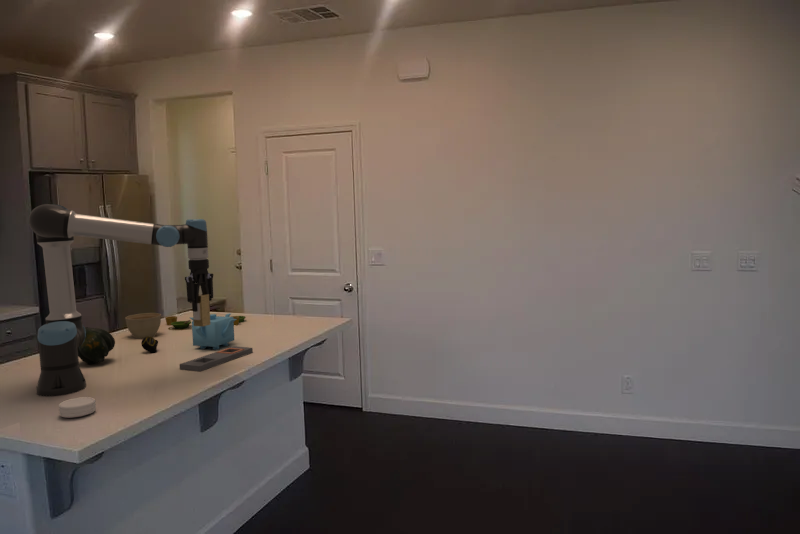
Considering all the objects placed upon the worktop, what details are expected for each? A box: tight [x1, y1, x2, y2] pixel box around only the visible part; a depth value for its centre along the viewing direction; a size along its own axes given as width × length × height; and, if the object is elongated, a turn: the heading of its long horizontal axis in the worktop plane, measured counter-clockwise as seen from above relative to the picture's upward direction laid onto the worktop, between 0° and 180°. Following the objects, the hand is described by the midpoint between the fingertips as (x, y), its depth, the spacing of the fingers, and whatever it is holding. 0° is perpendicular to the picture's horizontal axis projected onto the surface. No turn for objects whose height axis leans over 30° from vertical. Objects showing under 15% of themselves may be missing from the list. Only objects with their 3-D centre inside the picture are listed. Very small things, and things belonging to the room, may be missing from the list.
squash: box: [78, 326, 116, 365], centre depth 246 cm, size 14×15×15 cm
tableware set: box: [164, 315, 247, 331], centre depth 324 cm, size 41×28×6 cm
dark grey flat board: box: [179, 345, 254, 372], centre depth 246 cm, size 32×10×2 cm, turn 156°
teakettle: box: [189, 312, 237, 351], centre depth 272 cm, size 19×19×15 cm
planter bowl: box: [124, 312, 162, 340], centre depth 296 cm, size 16×16×11 cm
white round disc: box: [58, 396, 97, 419], centre depth 185 cm, size 10×10×4 cm
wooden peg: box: [192, 293, 211, 327], centre depth 237 cm, size 4×4×12 cm
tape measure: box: [140, 336, 159, 354], centre depth 264 cm, size 7×7×4 cm
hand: (201, 318), depth 237 cm, fingers closed on wooden peg, 4 cm apart
